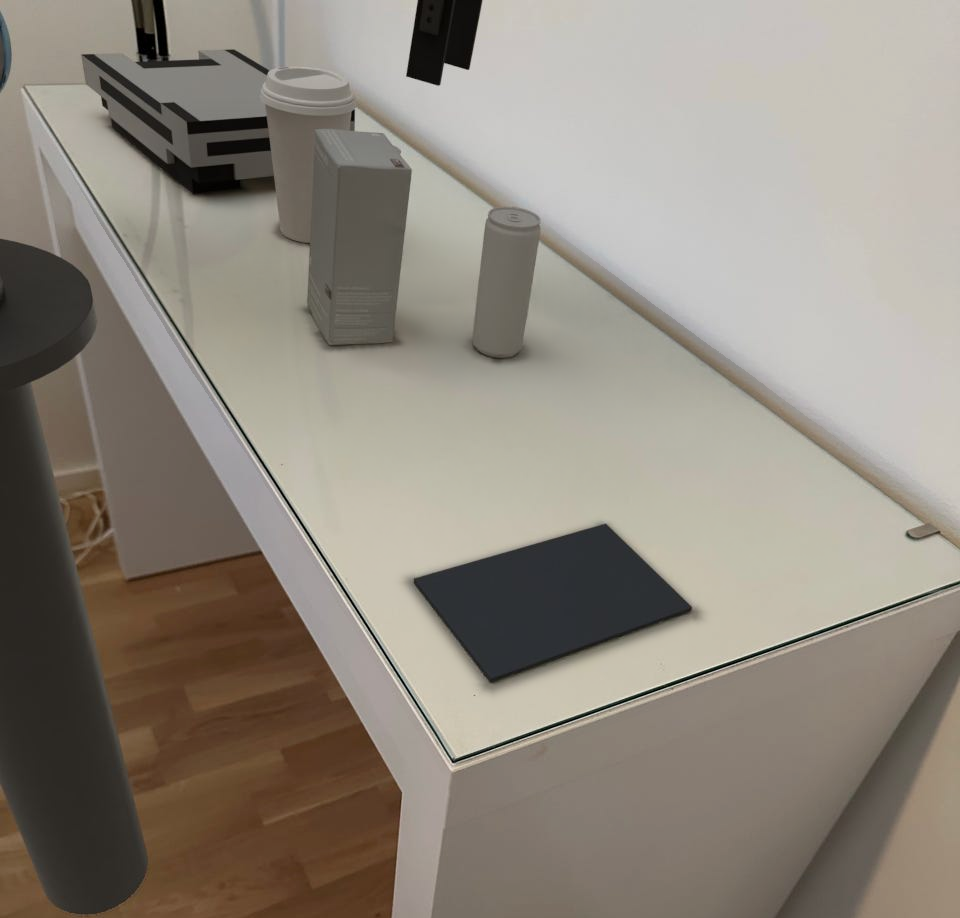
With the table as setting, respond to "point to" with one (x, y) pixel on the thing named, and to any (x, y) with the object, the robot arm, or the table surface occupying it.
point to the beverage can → (505, 280)
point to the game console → (190, 114)
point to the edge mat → (549, 600)
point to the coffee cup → (301, 135)
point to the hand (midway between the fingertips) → (439, 73)
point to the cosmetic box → (356, 235)
